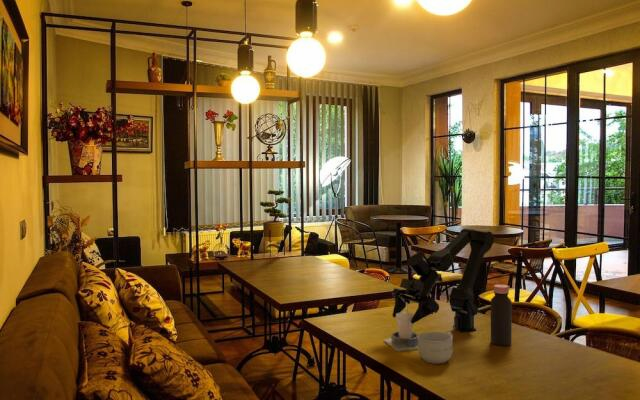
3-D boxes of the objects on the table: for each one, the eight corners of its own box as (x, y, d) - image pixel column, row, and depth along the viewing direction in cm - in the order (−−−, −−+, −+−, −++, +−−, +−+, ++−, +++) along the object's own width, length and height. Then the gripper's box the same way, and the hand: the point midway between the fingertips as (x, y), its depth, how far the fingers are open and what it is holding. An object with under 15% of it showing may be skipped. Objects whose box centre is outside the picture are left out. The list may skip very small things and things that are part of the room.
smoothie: (413, 345, 168) (413, 305, 168) (395, 344, 170) (394, 304, 169) (415, 339, 175) (415, 300, 174) (397, 338, 176) (396, 299, 176)
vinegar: (514, 342, 173) (514, 285, 172) (506, 347, 168) (506, 289, 167) (495, 338, 177) (495, 283, 176) (487, 343, 172) (487, 286, 171)
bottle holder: (412, 338, 179) (412, 329, 179) (427, 347, 169) (427, 338, 168) (384, 341, 176) (384, 332, 176) (397, 351, 165) (397, 341, 165)
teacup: (432, 369, 150) (432, 343, 150) (410, 358, 159) (410, 333, 159) (467, 361, 156) (467, 335, 156) (443, 350, 166) (443, 326, 166)
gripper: (395, 265, 181) (371, 300, 176) (433, 273, 166) (408, 311, 160) (411, 284, 186) (389, 318, 180) (449, 294, 170) (426, 331, 165)
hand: (402, 319), depth 171 cm, fingers open, 9 cm apart
